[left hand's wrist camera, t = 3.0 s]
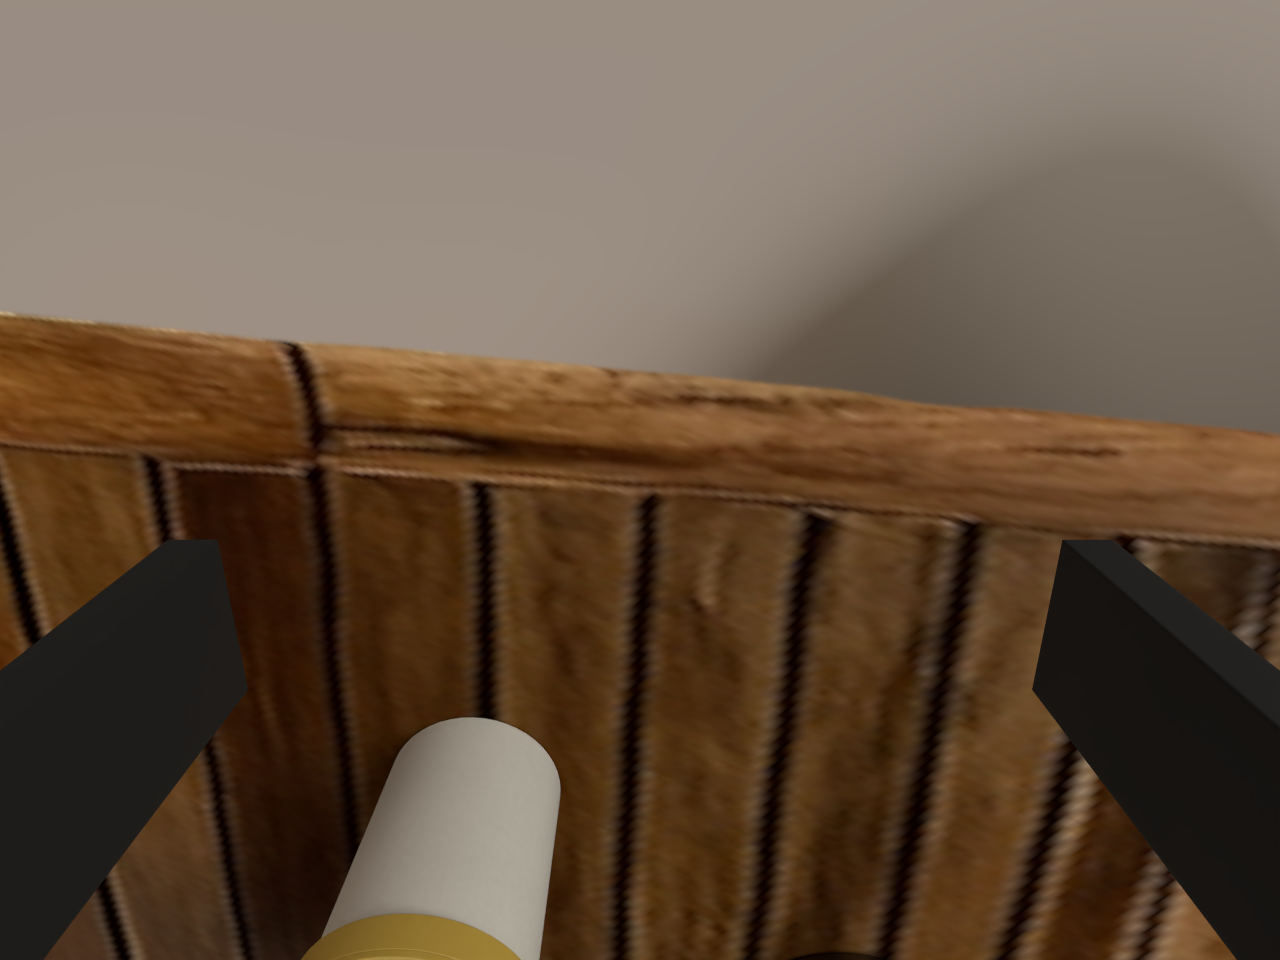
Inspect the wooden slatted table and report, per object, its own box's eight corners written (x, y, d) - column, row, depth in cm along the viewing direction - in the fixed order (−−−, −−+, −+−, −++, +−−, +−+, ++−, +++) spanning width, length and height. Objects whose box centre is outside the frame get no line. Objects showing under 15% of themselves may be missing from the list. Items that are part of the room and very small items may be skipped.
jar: (480, 877, 52) (418, 1150, 37) (356, 783, 49) (238, 1038, 35) (595, 790, 49) (576, 1046, 35) (471, 686, 46) (396, 917, 32)
